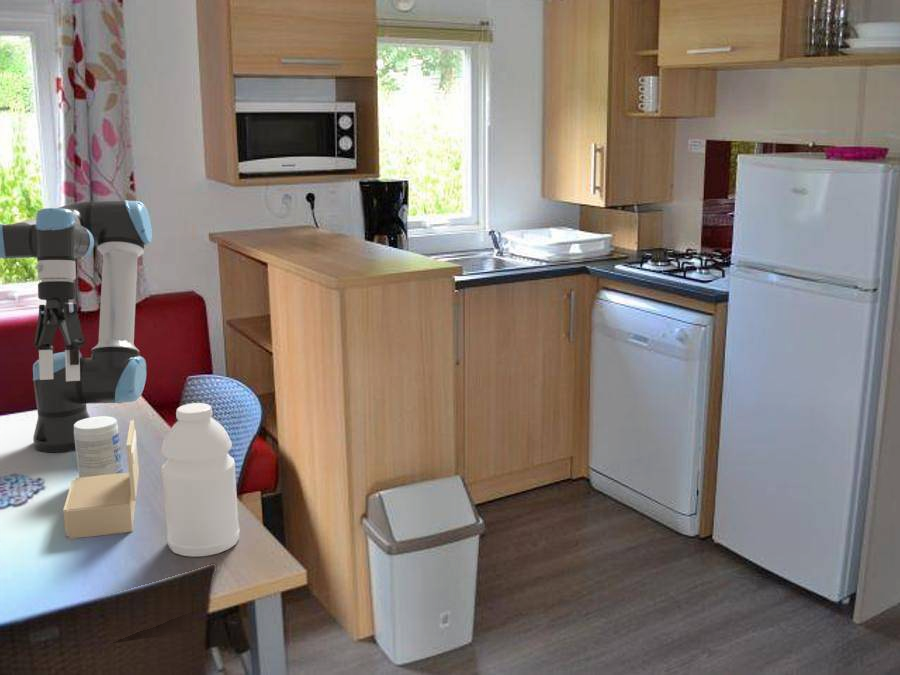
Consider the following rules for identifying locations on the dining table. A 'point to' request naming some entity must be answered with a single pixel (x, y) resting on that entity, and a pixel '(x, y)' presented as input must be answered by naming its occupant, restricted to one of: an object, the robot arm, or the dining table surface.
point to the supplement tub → (97, 446)
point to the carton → (99, 506)
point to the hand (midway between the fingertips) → (59, 380)
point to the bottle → (199, 484)
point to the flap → (132, 459)
